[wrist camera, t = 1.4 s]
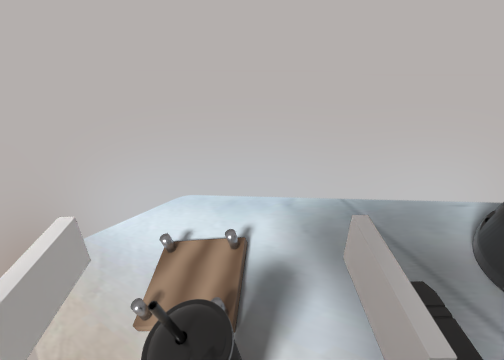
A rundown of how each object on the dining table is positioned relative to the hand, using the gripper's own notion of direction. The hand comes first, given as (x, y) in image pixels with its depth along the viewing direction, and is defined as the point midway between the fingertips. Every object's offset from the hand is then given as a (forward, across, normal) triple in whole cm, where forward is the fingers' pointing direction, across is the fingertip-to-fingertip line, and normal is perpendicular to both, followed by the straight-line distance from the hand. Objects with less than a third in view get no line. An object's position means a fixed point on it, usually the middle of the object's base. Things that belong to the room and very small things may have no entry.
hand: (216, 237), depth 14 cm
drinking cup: (+5, 0, -27) cm, 27 cm away
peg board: (+20, -6, -25) cm, 33 cm away
